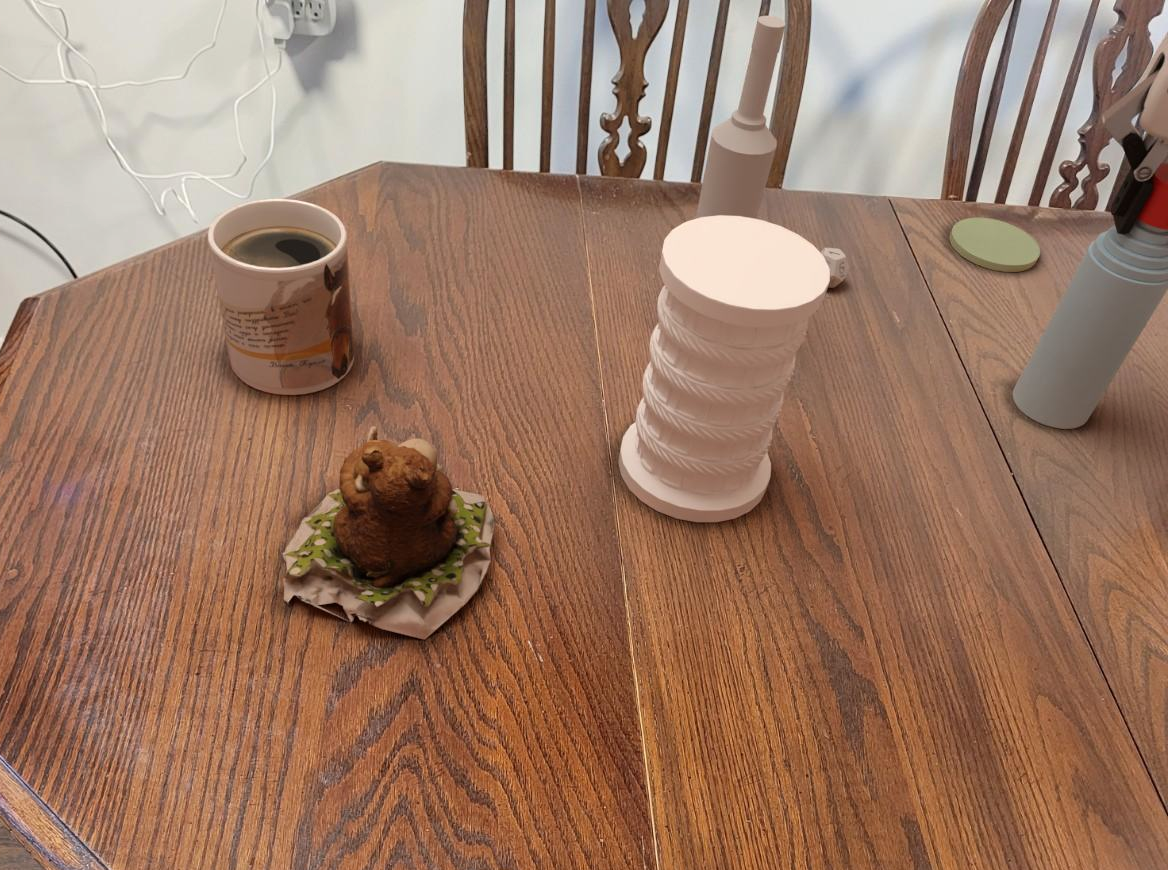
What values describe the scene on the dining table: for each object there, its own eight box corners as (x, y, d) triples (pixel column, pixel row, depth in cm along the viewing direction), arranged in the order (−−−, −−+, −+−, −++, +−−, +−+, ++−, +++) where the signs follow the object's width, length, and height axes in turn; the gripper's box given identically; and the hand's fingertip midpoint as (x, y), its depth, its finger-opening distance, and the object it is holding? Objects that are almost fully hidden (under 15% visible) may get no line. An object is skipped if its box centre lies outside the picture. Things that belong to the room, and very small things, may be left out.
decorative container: (618, 515, 76) (658, 302, 63) (618, 413, 84) (654, 203, 70) (774, 529, 77) (848, 322, 63) (760, 427, 84) (823, 222, 71)
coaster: (1035, 236, 110) (1039, 229, 109) (1038, 280, 104) (1041, 273, 103) (950, 216, 110) (953, 209, 110) (947, 259, 105) (950, 252, 104)
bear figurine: (526, 511, 75) (540, 375, 66) (440, 663, 66) (442, 528, 57) (355, 455, 77) (346, 315, 68) (248, 594, 68) (219, 453, 59)
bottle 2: (1086, 391, 92) (1215, 174, 77) (1091, 437, 88) (1228, 217, 73) (1011, 373, 93) (1124, 155, 78) (1012, 418, 89) (1132, 196, 73)
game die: (841, 296, 98) (851, 268, 96) (803, 286, 99) (811, 257, 96) (846, 277, 100) (856, 249, 98) (809, 267, 101) (817, 239, 99)
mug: (204, 339, 85) (179, 212, 76) (336, 298, 90) (327, 175, 82) (265, 411, 80) (245, 284, 71) (401, 363, 85) (397, 239, 77)
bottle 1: (663, 307, 94) (722, 9, 75) (712, 298, 96) (782, 4, 77) (691, 340, 91) (760, 39, 72) (741, 330, 93) (821, 33, 74)
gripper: (1422, -36, 66) (1250, 229, 80) (1158, -85, 67) (1033, 185, 81) (1463, 6, 61) (1271, 281, 75) (1177, -47, 62) (1040, 233, 76)
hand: (1149, 229), depth 78 cm, fingers closed on cap, 3 cm apart
